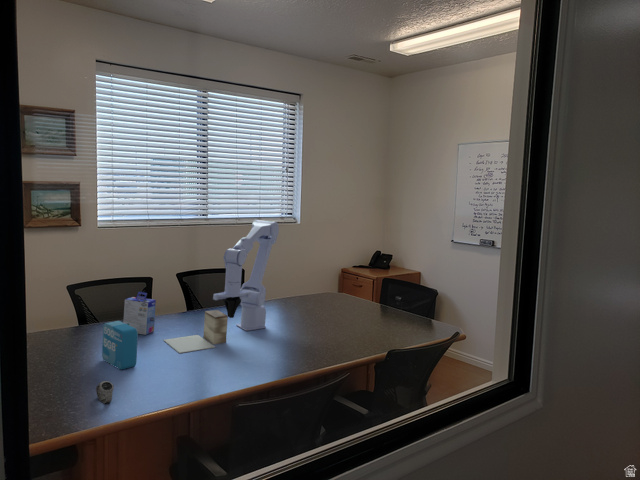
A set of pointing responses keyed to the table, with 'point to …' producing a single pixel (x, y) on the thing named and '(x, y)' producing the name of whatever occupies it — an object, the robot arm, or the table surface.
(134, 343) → the data package
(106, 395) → the grey stone mug
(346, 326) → the table surface
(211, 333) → the ash block
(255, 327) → the robot arm
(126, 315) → the ink cartridge box
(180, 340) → the mat
